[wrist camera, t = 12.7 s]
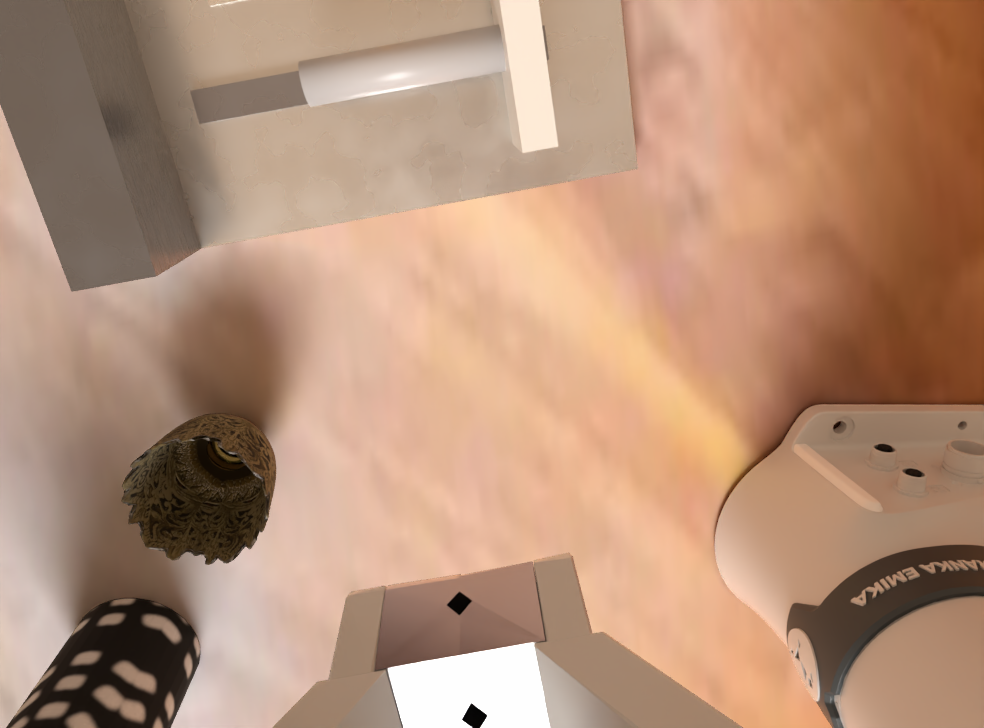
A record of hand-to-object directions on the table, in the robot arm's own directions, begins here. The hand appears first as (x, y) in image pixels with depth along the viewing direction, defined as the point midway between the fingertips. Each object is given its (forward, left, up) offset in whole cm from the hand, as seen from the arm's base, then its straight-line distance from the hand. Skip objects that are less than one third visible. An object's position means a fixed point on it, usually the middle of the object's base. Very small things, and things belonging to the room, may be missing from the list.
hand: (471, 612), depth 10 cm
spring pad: (0, -9, -32) cm, 33 cm away
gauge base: (+4, -8, -34) cm, 35 cm away
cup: (+16, +11, -34) cm, 39 cm away
